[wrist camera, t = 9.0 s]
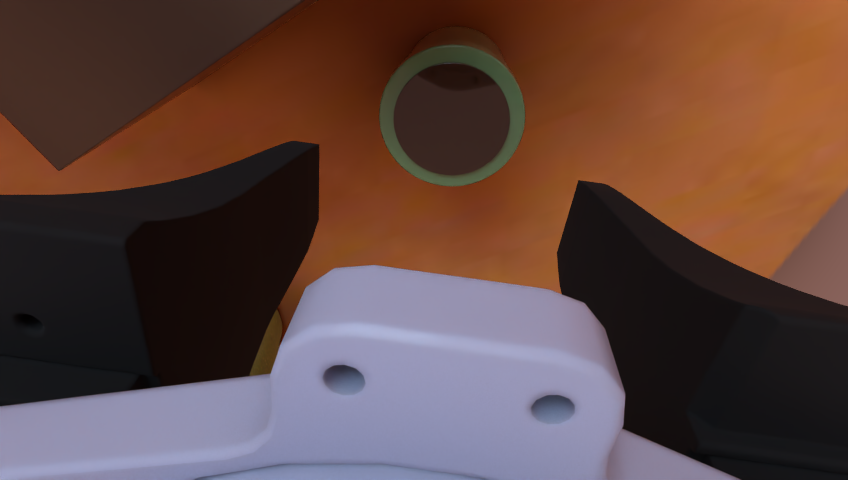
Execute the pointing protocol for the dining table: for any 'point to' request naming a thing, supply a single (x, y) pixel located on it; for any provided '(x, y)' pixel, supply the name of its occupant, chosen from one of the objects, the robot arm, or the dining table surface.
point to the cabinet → (115, 61)
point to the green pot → (452, 109)
